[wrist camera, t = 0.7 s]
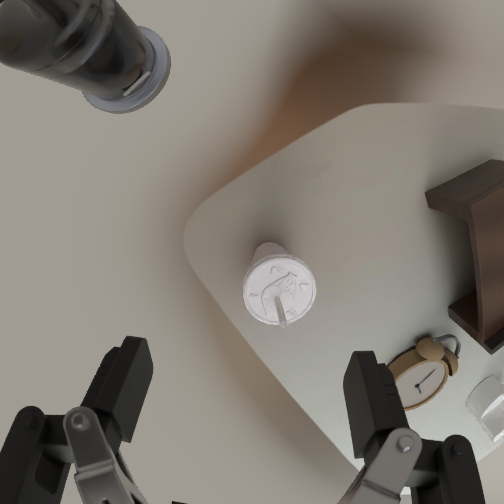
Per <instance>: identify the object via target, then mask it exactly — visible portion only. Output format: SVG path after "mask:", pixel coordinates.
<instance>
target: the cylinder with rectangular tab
mask: <svg viewBox="0 0 504 504" xmlns="http://www.w3.org/2000/svg"><path fill="white" fill-rule="evenodd" d="M466 405H467V408H468V409H469V410H470V412H471V413H472V414H473V416H474V417H475V418H476V420H477V421H478V422H479V424H480V425H481V426H482V428H483V429H484V430H485V432H486V433H487V434H488V436H489V437H490V438H491V440H492V441H493V443H495V442H496V441H497V440H498V439H500V438H501V437H502V436H503V435H504V385H503V384H502V383H501V382H500V380H499V379H498V378H497V377H496V376H490V377H488V378H486V379H485V380H483V381H482V382H481V383H480V384H479V385H478V386H477V387H476V388H475V389H474V390H473V391H472V393H471V394H470V396H469V398H468V400H467V404H466Z"/></svg>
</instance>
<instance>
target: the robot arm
mask: <svg viewBox="0 0 504 504" xmlns="http://www.w3.org/2000/svg"><path fill="white" fill-rule="evenodd" d="M1 3H2V4H1ZM0 4H1V6H0V62H1V63H2V64H4V65H6V66H8V67H11V68H14V69H18V70H21V71H24V72H28V73H30V74H34V75H37V76H40V77H43V78H46V79H50V80H52V81H55V82H58V83H61V84H64V85H67V86H70V87H73V88H75V89H78V90H81V91H83V92H86V93H89V94H92V95H94V96H96V97H98V98H100V99H102V100H105V101H110V102H118V101H123V100H126V99H129V98H131V97H133V96H135V95H136V94H138V93H139V92H140V91H142V90H143V89H144V88H145V87H146V86H147V84H148V83H149V82H150V80H151V78H152V77H153V75H154V72H155V70H156V65H157V53H156V50H155V48H154V46H153V44H152V43H151V42H150V40H149V39H148V38H147V37H145V35H144V34H143V33H142V32H141V30H140V29H139V28H138V27H137V25H136V24H135V23H134V22H133V21H132V19H131V18H130V17H129V16H128V15H127V13H126V12H125V11H124V10H123V9H122V7H121V6H120V5H119V4H118V2H117V1H116V0H0ZM152 374H153V362H152V359H151V355H150V351H149V347H148V343H147V340H146V339H145V338H140V337H133V336H126V338H125V339H124V341H123V343H122V345H121V347H113V348H112V349H111V350H110V351H109V352H108V353H107V354H106V355H105V356H104V358H103V360H102V362H101V364H100V367H99V368H98V370H97V372H96V375H95V376H94V379H93V381H92V383H91V385H90V387H89V389H88V391H87V393H86V395H85V397H84V400H83V402H82V404H81V405H80V406H79V407H76V408H73V409H71V410H70V411H69V412H67V414H66V415H44V413H43V412H42V411H41V410H40V409H39V408H38V407H35V406H27V407H25V408H23V409H21V410H20V411H19V412H18V414H17V415H16V417H15V420H14V422H13V424H12V426H11V429H10V431H9V433H8V435H7V438H6V440H5V443H4V445H3V447H2V450H1V452H0V504H60V502H61V498H62V494H63V491H64V487H65V483H66V480H67V476H68V473H69V470H70V466H71V463H74V464H75V467H76V471H77V473H76V474H75V475H74V479H75V483H76V485H77V488H78V491H79V494H80V496H81V499H82V501H83V504H148V503H147V501H146V499H145V498H144V496H143V495H142V493H141V492H140V490H139V489H138V487H137V485H136V484H135V482H134V480H133V478H132V476H131V473H130V472H129V469H128V468H127V465H126V463H125V461H124V459H123V457H122V454H121V452H120V450H119V447H120V444H121V441H124V442H128V443H131V440H132V436H133V433H134V430H135V427H136V424H137V421H138V417H139V414H140V412H141V409H142V406H143V403H144V399H145V397H146V394H147V391H148V388H149V385H150V382H151V379H152ZM343 390H344V396H345V401H346V407H347V413H348V418H349V424H350V430H351V437H352V443H353V450H354V456H355V459H357V458H364V462H365V465H364V466H363V468H362V469H361V471H360V472H359V474H358V475H357V477H356V478H355V480H354V482H353V483H352V484H351V486H350V487H349V489H348V490H347V491H346V493H345V495H344V496H343V497H342V498H341V500H340V501H339V502H338V504H399V503H400V500H401V498H400V493H401V491H402V489H403V487H404V486H406V487H410V489H411V497H412V504H485V499H484V494H483V489H482V485H481V480H480V476H479V472H478V468H477V464H476V460H475V456H474V453H473V449H472V446H471V443H470V442H469V440H468V439H467V438H465V437H464V436H461V435H451V436H449V437H448V438H446V439H445V441H444V442H443V441H434V440H426V439H423V438H420V436H419V435H418V434H417V433H416V432H415V431H414V430H412V429H410V427H409V425H408V421H407V418H406V415H405V411H404V408H403V405H402V401H401V398H400V395H399V394H398V393H399V392H398V389H397V386H396V382H395V379H394V376H393V373H392V372H391V371H390V369H389V368H388V367H387V366H386V365H385V363H380V364H378V363H377V360H376V357H375V354H374V352H373V351H354V352H353V354H352V356H351V359H350V362H349V364H348V367H347V370H346V372H345V375H344V380H343ZM172 504H185V503H179V502H174V501H172Z"/></svg>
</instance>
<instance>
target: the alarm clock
mask: <svg viewBox="0 0 504 504" xmlns="http://www.w3.org/2000/svg"><path fill="white" fill-rule="evenodd" d="M448 339H453V340H456V342H457V346H456V350H455V354H454V353H453V352H452V351H451V350H448V349H445V350H444V347H443V345H442V343H441V342H442V341H445V340H448ZM460 348H461V344H460V342H459V340H458V339H457V338H456V337H455V336H454V335H451V334H446V335H443V336H441V337H438V338H435V337H434V338H431V337H427V338H423V339H421V340H420V341H419V342H418V344H417V345H416V349H413V350H410V351H409V352H407V353H405V354H403V355H401V356H400V357H399V358H397V359H396V360H395V361H394V362H392V363H391V364H390V366H389V367H388V368H389V369H390V371H391V372H392V373H393V376H394V379H395V382H396V386H397V389H398V392H399V393H398V394H399V395H400V398H401V401H402V405H403V408H404V411H408V410H411V409H414V408H417V407H419V406H421V405H423V404H425V403H427V402H428V401H429V400H431V399H432V398H433V397H434V396H435V395H436V394H437V393H438V392H439V391H440V390H441V389H442V388H443V386H444V384H445V383H446V381H447V378H448V374H449V375H450V376H453V375H454V374H455V373H456V371H457V369H458V360H457V359H458V358H459V356H458V354H459V352H460Z"/></svg>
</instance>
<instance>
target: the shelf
mask: <svg viewBox="0 0 504 504" xmlns="http://www.w3.org/2000/svg"><path fill="white" fill-rule="evenodd" d="M425 196H426V199H427V203H428V207H429V208H432V209H435V210H438V211H441V212H444V213H447V214H449V215H452V216H455V217H458V218H461V219H463V220H466V221H467V222H468V228H469V233H470V239H471V246H472V253H473V261H474V269H475V278H476V289H475V290H473V291H472V292H470V293H469V294H468V295H466V296H465V297H463V298H462V299H460V300H458V301H457V302H455V303H454V304H452V305H451V306H449V307H448V310H449V317H450V318H451V319H452V320H453V321H454V322H456V323H457V324H458V325H459V326H460V327H461V328H462V329H463V330H465V331H466V332H467V333H468V334H469V335H470V336H471V337H472V338H473V339H474V340H476V341H477V342H478V343H479V344H480V345H481V346H482V347H483V348H484V349H485V350H486V351H487V352H488V353H489V354H491V355H492V354H493V353H495V352H496V351H497V350H499V349H500V348H501V347H502V346H504V161H501V160H492V159H491V160H489V161H487V162H485V163H483V164H481V165H480V166H478V167H476V168H474V169H472V170H470V171H468V172H466V173H464V174H462V175H460V176H458V177H456V178H454V179H452V180H450V181H448V182H446V183H444V184H442V185H440V186H438V187H436V188H434V189H432V190H430V191H428V192H426V193H425Z"/></svg>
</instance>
